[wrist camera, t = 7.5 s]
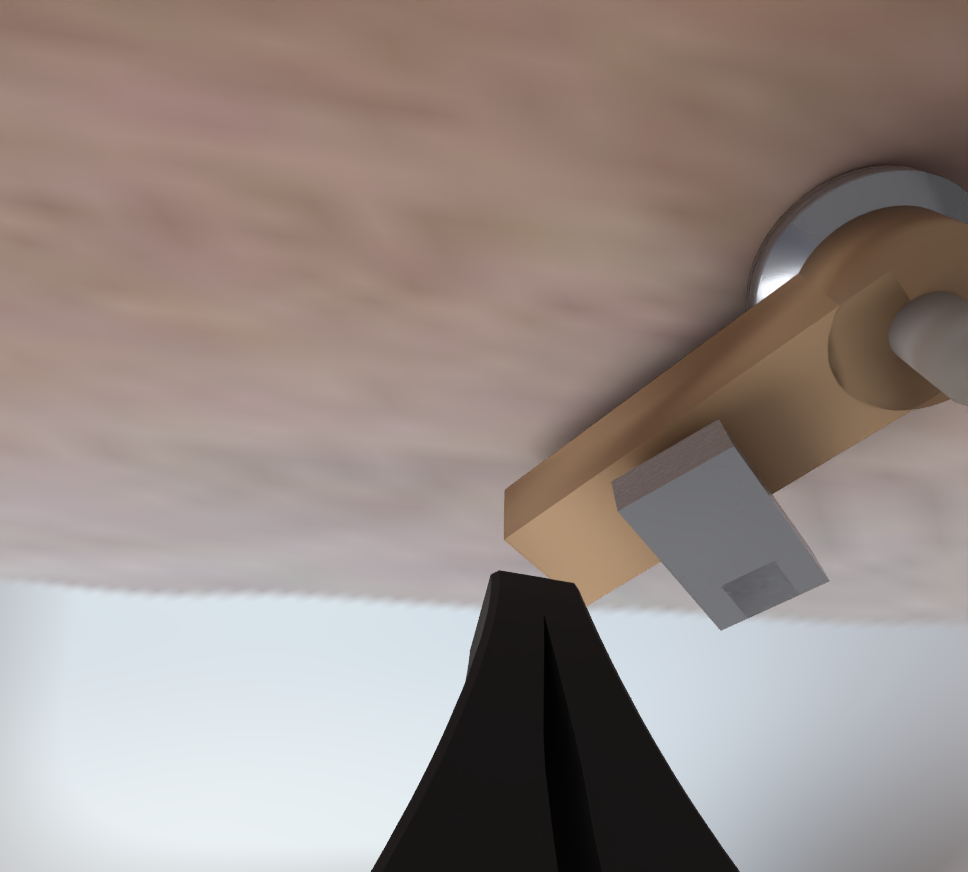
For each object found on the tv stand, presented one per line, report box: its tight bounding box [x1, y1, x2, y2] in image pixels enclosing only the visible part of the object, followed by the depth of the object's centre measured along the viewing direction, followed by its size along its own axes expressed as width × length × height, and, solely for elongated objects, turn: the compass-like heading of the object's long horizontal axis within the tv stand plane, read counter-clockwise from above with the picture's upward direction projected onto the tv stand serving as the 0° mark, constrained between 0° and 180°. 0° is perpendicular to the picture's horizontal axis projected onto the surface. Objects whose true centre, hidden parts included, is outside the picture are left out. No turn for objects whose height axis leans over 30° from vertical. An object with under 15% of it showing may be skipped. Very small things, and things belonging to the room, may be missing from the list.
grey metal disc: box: [747, 165, 968, 310], centre depth 14 cm, size 5×5×1 cm
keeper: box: [611, 419, 829, 630], centre depth 15 cm, size 2×4×5 cm, turn 39°
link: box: [504, 205, 968, 606], centre depth 14 cm, size 11×4×4 cm, turn 134°
